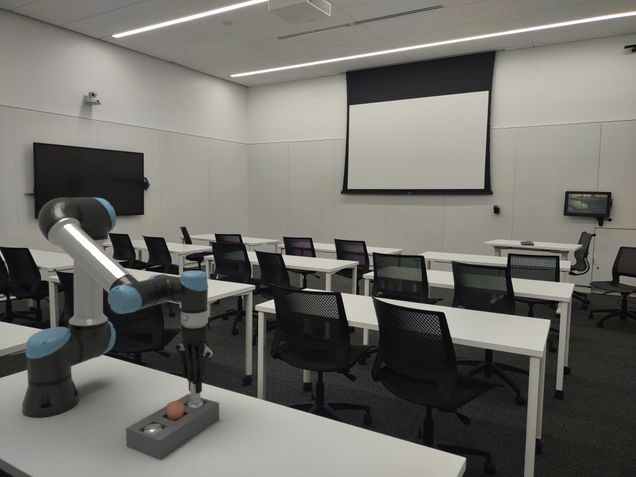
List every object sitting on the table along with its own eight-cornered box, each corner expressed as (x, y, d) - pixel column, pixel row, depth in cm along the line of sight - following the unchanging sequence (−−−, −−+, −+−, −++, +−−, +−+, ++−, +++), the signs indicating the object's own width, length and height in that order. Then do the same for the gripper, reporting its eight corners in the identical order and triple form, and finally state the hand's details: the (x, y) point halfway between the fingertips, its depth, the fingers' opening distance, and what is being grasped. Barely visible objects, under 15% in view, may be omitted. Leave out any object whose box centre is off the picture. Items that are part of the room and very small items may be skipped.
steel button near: (140, 446, 117) (140, 429, 116) (153, 437, 121) (153, 422, 120) (152, 450, 115) (152, 434, 114) (165, 442, 119) (165, 426, 118)
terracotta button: (163, 421, 124) (163, 406, 123) (175, 414, 128) (175, 399, 127) (175, 425, 122) (175, 409, 121) (187, 418, 126) (186, 403, 125)
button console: (126, 446, 118) (126, 428, 117) (188, 409, 138) (188, 393, 137) (159, 459, 112) (159, 440, 112) (219, 418, 133) (219, 402, 132)
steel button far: (184, 418, 131) (184, 404, 131) (195, 412, 135) (194, 398, 135) (196, 422, 129) (195, 407, 129) (206, 416, 133) (206, 401, 133)
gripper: (168, 324, 129) (169, 402, 131) (203, 331, 123) (203, 413, 125) (186, 318, 135) (187, 392, 138) (220, 324, 130) (221, 402, 132)
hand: (195, 402), depth 132 cm, fingers closed
